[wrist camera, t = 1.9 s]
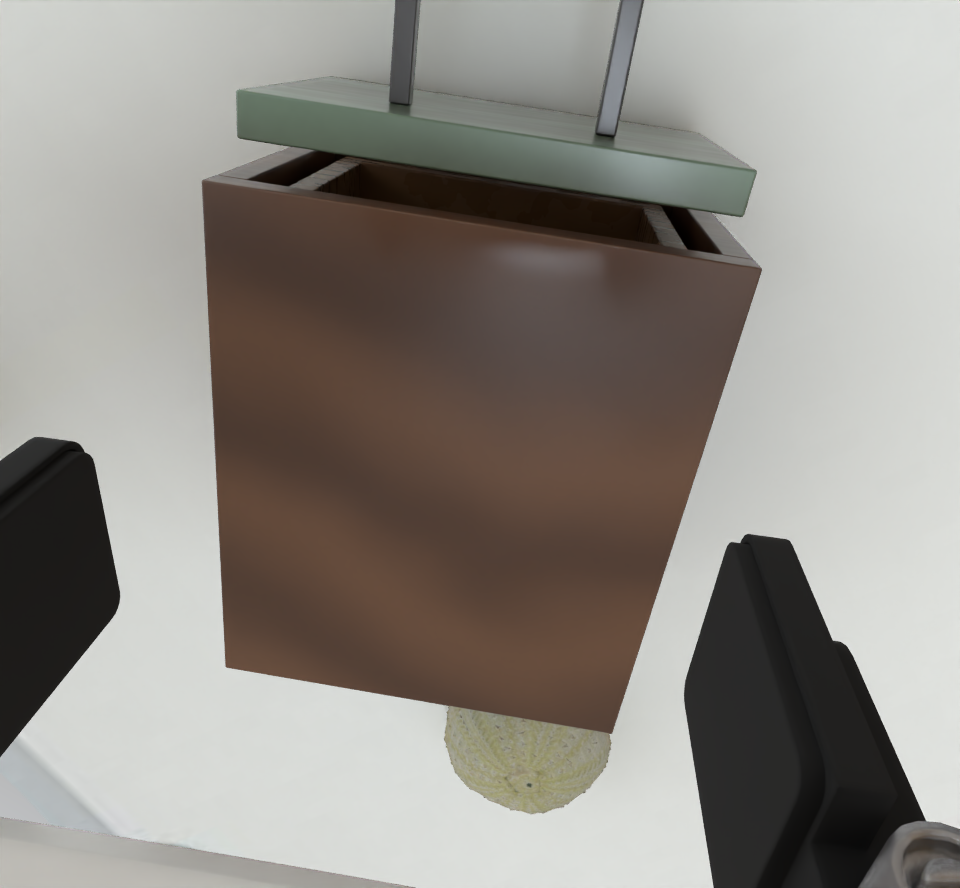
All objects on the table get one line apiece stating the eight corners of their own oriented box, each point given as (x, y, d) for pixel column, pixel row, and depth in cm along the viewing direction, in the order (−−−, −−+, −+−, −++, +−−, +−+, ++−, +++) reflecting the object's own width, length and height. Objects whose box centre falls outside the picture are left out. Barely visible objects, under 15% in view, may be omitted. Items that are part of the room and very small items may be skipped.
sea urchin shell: (587, 653, 37) (615, 826, 35) (602, 654, 45) (625, 797, 42) (418, 674, 39) (432, 841, 37) (458, 672, 47) (473, 810, 44)
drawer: (335, -118, 24) (227, -195, 16) (749, -56, 24) (840, -104, 16) (318, 464, 35) (248, 585, 27) (602, 511, 35) (614, 647, 27)
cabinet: (319, 135, 29) (200, 179, 19) (696, 194, 28) (762, 268, 19) (310, 510, 37) (225, 667, 28) (599, 558, 37) (612, 734, 28)
